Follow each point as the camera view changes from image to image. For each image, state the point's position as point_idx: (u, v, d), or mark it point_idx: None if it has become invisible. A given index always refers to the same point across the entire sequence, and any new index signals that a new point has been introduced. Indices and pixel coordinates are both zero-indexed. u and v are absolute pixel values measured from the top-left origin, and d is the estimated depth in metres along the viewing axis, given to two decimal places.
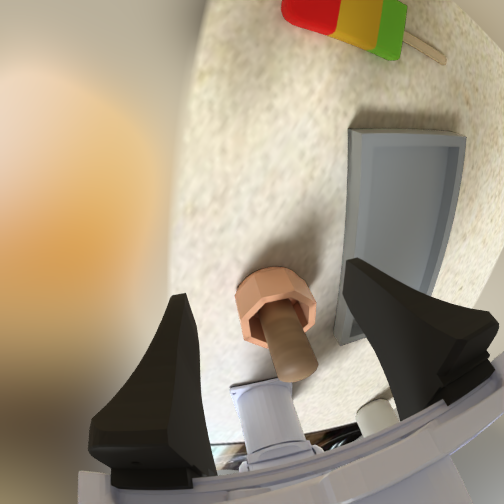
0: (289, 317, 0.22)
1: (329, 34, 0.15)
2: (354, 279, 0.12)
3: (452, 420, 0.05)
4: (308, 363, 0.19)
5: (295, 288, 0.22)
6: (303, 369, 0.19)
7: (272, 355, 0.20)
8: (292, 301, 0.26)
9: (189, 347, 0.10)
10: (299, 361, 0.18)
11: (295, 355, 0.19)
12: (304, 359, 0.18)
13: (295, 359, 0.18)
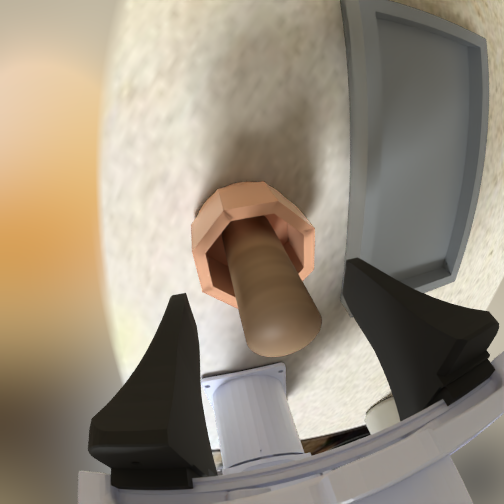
0: (271, 246, 0.13)
1: None
2: (354, 279, 0.12)
3: (452, 420, 0.05)
4: (303, 317, 0.11)
5: (280, 200, 0.14)
6: (294, 330, 0.11)
7: (239, 305, 0.12)
8: None
9: (189, 347, 0.10)
10: (285, 310, 0.10)
11: (277, 298, 0.10)
12: (294, 306, 0.10)
13: (277, 305, 0.10)
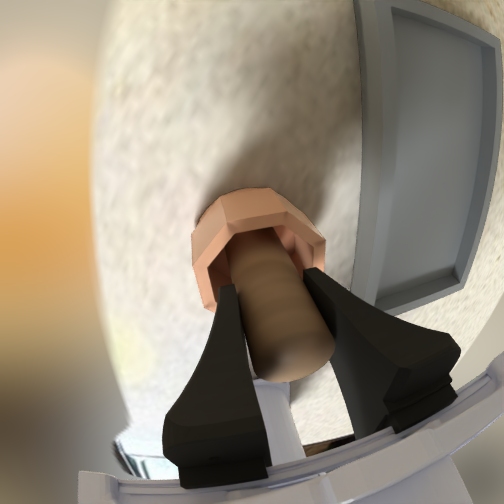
0: (279, 261, 0.12)
1: None
2: (310, 290, 0.12)
3: (452, 420, 0.05)
4: (316, 343, 0.09)
5: (288, 210, 0.13)
6: (306, 356, 0.10)
7: (245, 328, 0.11)
8: None
9: (243, 337, 0.10)
10: (297, 337, 0.09)
11: (288, 324, 0.09)
12: (307, 333, 0.09)
13: (289, 332, 0.09)
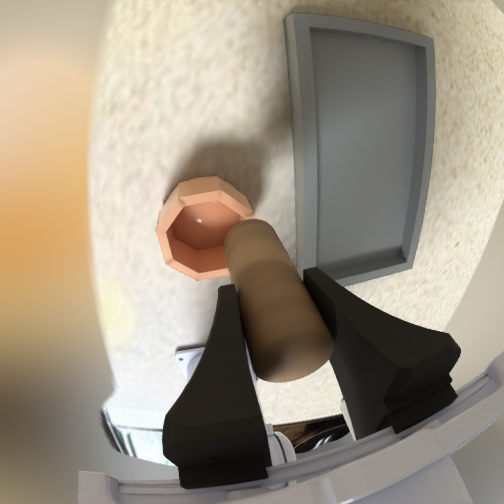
0: (278, 261, 0.12)
1: None
2: (310, 290, 0.12)
3: (452, 420, 0.05)
4: (315, 343, 0.09)
5: (223, 190, 0.17)
6: (305, 356, 0.10)
7: (244, 328, 0.11)
8: (233, 225, 0.22)
9: (243, 337, 0.10)
10: (296, 337, 0.09)
11: (287, 324, 0.09)
12: (306, 332, 0.09)
13: (288, 332, 0.09)
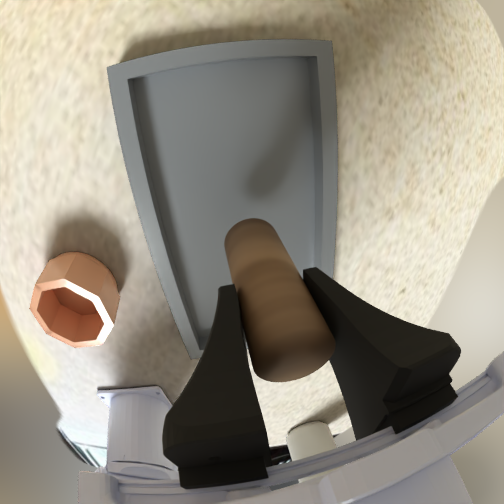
0: (279, 260, 0.12)
1: None
2: (310, 290, 0.12)
3: (452, 420, 0.05)
4: (316, 342, 0.09)
5: (69, 276, 0.15)
6: (306, 355, 0.10)
7: (245, 327, 0.11)
8: None
9: (243, 337, 0.10)
10: (297, 336, 0.09)
11: (288, 323, 0.09)
12: (307, 332, 0.09)
13: (289, 331, 0.09)
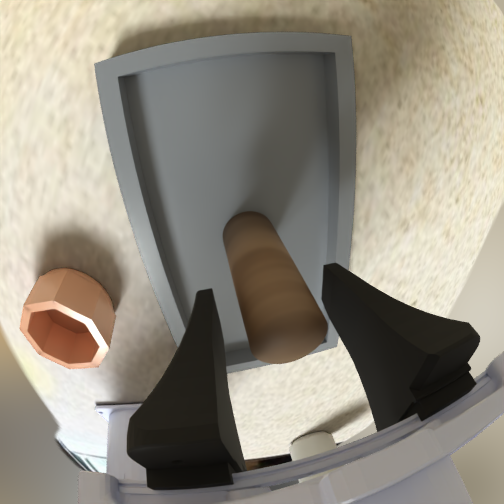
0: (274, 249, 0.13)
1: None
2: (331, 285, 0.12)
3: (452, 420, 0.05)
4: (309, 323, 0.10)
5: (59, 298, 0.14)
6: (300, 337, 0.10)
7: (242, 311, 0.11)
8: None
9: (218, 342, 0.10)
10: (291, 317, 0.10)
11: (282, 305, 0.10)
12: (301, 313, 0.10)
13: (283, 312, 0.10)
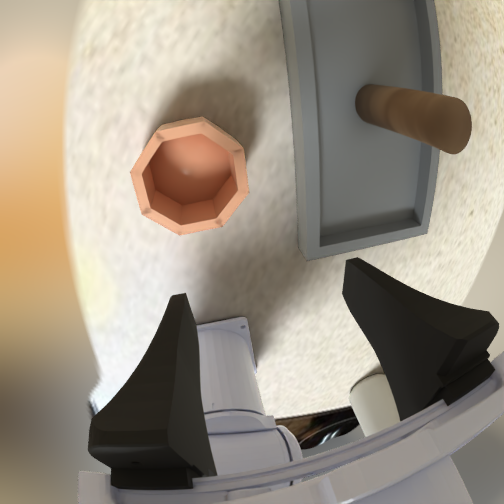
0: None
1: None
2: (354, 279, 0.12)
3: (452, 420, 0.05)
4: (464, 116, 0.10)
5: (208, 123, 0.14)
6: (459, 127, 0.11)
7: (415, 112, 0.12)
8: (223, 175, 0.18)
9: (189, 347, 0.10)
10: (456, 104, 0.10)
11: (449, 96, 0.10)
12: (460, 103, 0.10)
13: (453, 97, 0.10)
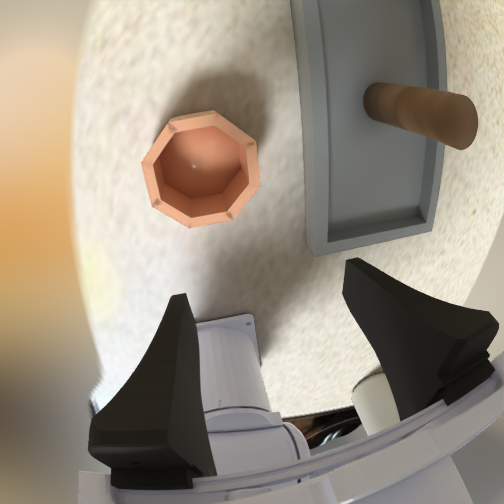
0: None
1: None
2: (354, 279, 0.12)
3: (452, 420, 0.05)
4: (471, 113, 0.10)
5: (220, 115, 0.14)
6: (467, 123, 0.11)
7: (424, 108, 0.12)
8: (232, 169, 0.18)
9: (189, 347, 0.10)
10: (464, 101, 0.10)
11: None
12: (467, 100, 0.10)
13: None
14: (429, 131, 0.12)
